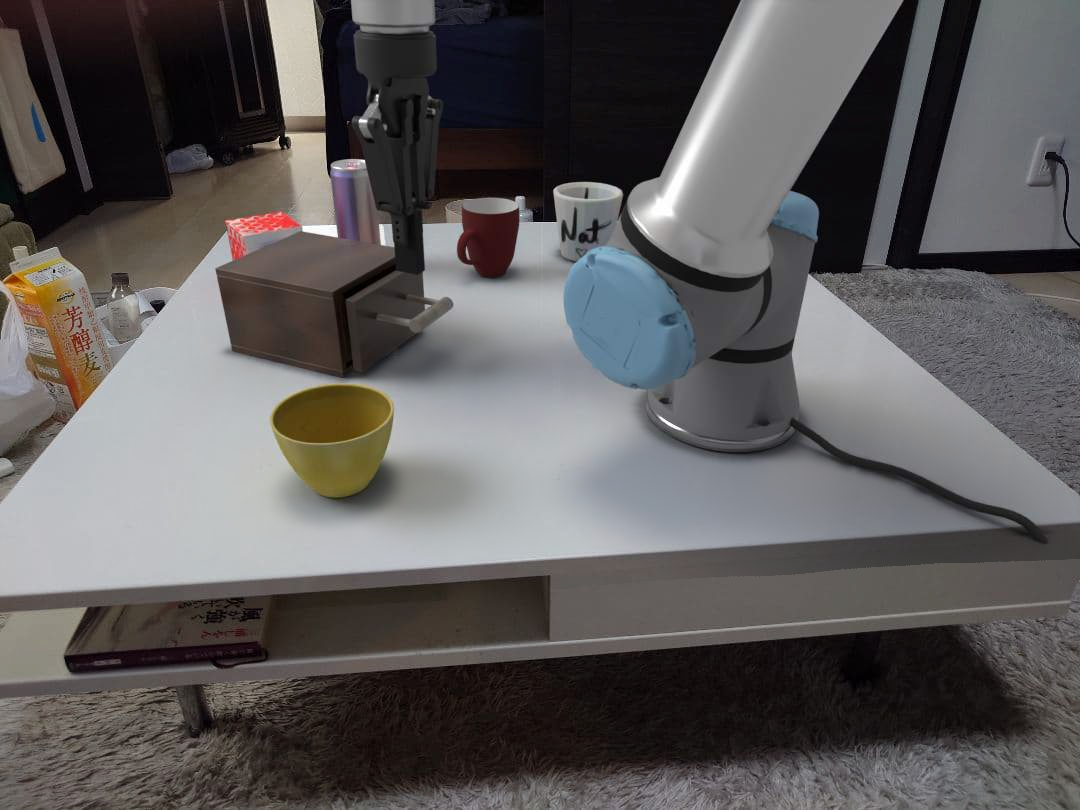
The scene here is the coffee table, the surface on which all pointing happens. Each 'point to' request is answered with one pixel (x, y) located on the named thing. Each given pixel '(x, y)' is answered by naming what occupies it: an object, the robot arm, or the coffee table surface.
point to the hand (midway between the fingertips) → (410, 270)
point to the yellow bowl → (334, 435)
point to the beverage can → (354, 202)
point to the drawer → (385, 315)
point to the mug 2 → (585, 216)
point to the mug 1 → (489, 235)
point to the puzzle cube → (258, 232)
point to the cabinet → (297, 298)
